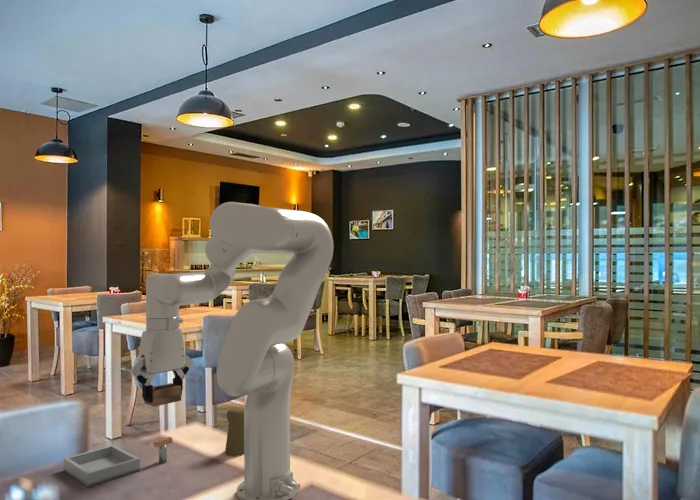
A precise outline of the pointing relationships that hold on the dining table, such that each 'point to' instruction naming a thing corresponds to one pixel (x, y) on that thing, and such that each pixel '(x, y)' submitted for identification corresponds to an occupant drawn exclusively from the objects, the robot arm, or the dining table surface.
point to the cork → (235, 431)
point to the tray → (101, 465)
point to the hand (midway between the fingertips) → (162, 397)
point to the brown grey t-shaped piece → (162, 448)
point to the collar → (165, 394)
